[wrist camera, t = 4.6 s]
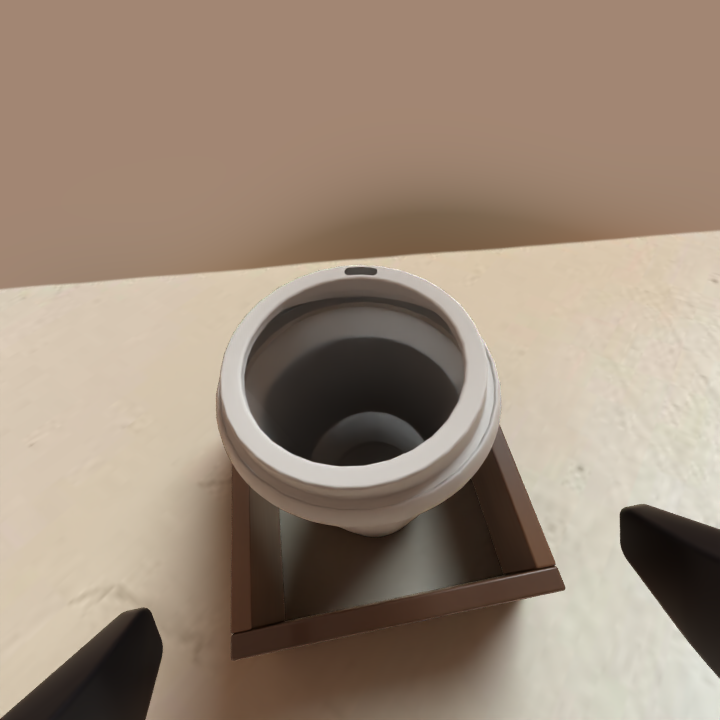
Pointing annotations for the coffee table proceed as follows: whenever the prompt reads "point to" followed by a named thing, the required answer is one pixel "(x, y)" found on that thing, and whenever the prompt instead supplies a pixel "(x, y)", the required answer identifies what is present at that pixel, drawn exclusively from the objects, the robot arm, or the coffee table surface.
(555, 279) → the coffee table surface
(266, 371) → the cup
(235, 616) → the box
